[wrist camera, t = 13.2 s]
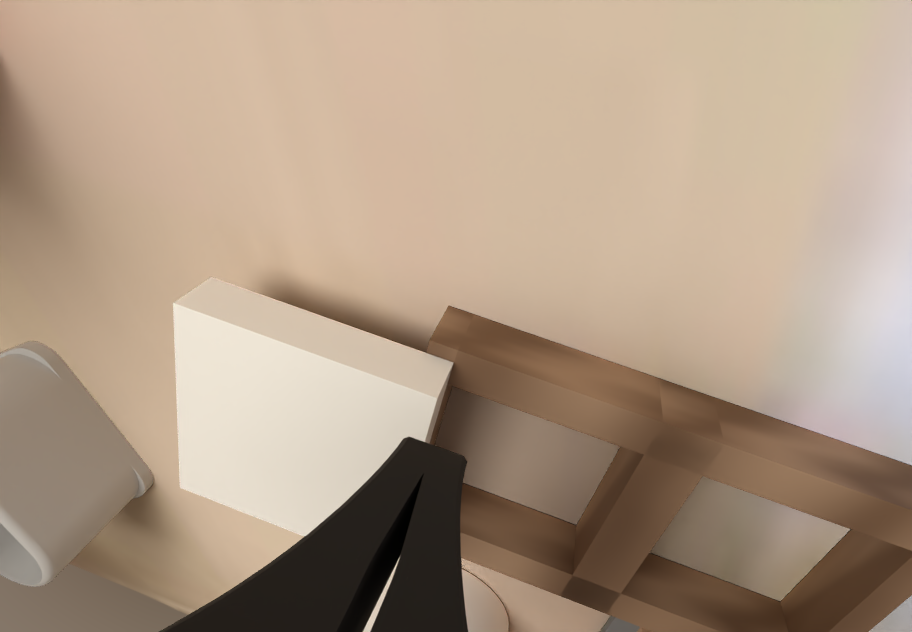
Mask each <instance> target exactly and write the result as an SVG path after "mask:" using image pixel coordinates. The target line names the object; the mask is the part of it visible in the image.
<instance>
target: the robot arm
mask: <svg viewBox="0 0 912 632" xmlns="http://www.w3.org/2000/svg"><path fill="white" fill-rule="evenodd" d="M466 464H467V461H466V459H465V458H464V456H462V455H459V454H457V453H454V452H451V451H448V450H445V449H443V448H440V447H437V446H434V445H432V444H429V443H426V442H423V441H420V440H418V439H415V438H412V437H406V438H403V440H402V441H401V442H400V444H399V445H398V447H397V448H396V449H395V450H394V452H393V453H392V454H391V455H390V456H389V458H388V459H387V460H386V461H385V462H384V463H383V464H382V466H381V467H380V468H379V469H378V470H377V471H376V472H375V473H374V474H373V475H372V476H371V477H370V478H369V479H368V480H367V481H366V482H365V483H364V484H363V485H362V486H361V487H360V488H359V489H358V490H357V491H356V492H355V493H354V494H353V495H352V496H351V497H350V498H349V499H348V500H347V501H346V502H345V503H343V504H342V505H341V506H340V507H339V508H338V509H337V510H336V511H334V512H333V513H332V514H331V515H330V516H329V517H327V518H326V519H325V520H324V521H323V522H322V523H320V524H319V525H318V526H317V527H316V528H315V529H313V530H312V531H311V532H310V533H309V534H307V535H306V536H305V537H304V538H302V539H301V540H300V541H299V542H297V543H296V544H295V545H293V546H292V547H291V548H290V549H288V550H287V551H286V552H284V553H283V554H281V555H280V556H279V557H277V558H276V559H275V560H273V561H272V562H271V563H269V564H268V565H266V566H265V567H263V568H262V569H261V570H259V571H258V572H256V573H255V574H253V575H252V576H250V577H249V578H247V579H246V580H244V581H243V582H241V583H240V584H238V585H237V586H235V587H234V588H232V589H231V590H229V591H228V592H226V593H224V594H223V595H221V596H220V597H218V598H216V599H215V600H213V601H211V602H210V603H208V604H206V605H205V606H203V607H201V608H199V609H198V610H196V611H194V612H193V613H191V614H189V615H187V616H186V617H184V618H182V619H180V620H179V621H177V622H175V623H174V624H172V625H171V626H168V627H167V628H165V629H163V630H161V631H159V632H363V630H364V628H365V626H366V624H367V622H368V620H369V618H370V616H371V614H372V612H373V610H374V608H375V606H376V604H377V602H378V600H379V598H380V596H381V594H382V592H383V590H384V588H385V586H386V584H387V582H388V580H389V578H390V575H391V573H392V571H393V569H394V567H395V565H396V563H397V561H398V559H399V561H398V564H397V567H396V570H395V573H394V576H393V578H392V581H391V583H390V585H389V588H388V590H387V593H386V595H385V597H384V600H383V602H382V605H381V607H380V610H379V612H378V614H377V617H376V619H375V622H374V624H373V626H372V629H371V631H370V632H468V626H467V619H466V611H465V602H464V592H463V580H462V566H461V536H460V513H461V495H462V485H463V478H464V472H465V467H466ZM399 557H400V558H399Z"/></svg>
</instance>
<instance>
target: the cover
mask: <svg viewBox="0 0 912 632" xmlns="http://www.w3.org/2000/svg"><path fill="white" fill-rule="evenodd" d="M173 313H174V340H175V368H176V395H177V422H178V449H179V476H180V488H182V489H185V490H187V491H190V492H192V493H195V494H197V495H200V496H202V497H205V498H207V499H210V500H213V501H215V502H218V503H220V504H223V505H225V506H228V507H230V508H233V509H235V510H238V511H240V512H243V513H246V514H248V515H251V516H253V517H256V518H258V519H261V520H263V521H266V522H268V523H271V524H274V525H276V526H279V527H281V528H284V529H286V530H289V531H291V532H294V533H296V534H299V535H302V536H304V537H305V536H306V535H307V534H309V533H310V532H311V531H312V530H313V529H315V528H316V527H317V526H318V525H319V524H320V523H322V522H323V521H324V520H325V519H326V518H327V517H329V516H330V515H331V514H332V513H333V512H334V511H336V510H337V509H338V508H339V507H340V506H341V505H342V504H343V503H345V502H346V501H347V500H348V499H349V498H350V497H351V496H352V495H353V494H354V493H355V492H356V491H357V490H358V489H359V488H360V487H361V486H362V485H363V484H364V483H365V482H366V481H367V480H368V479H369V478H370V477H371V476H372V475H373V474H374V473H375V472H376V471H377V470H378V469H379V468H380V467H381V466H382V464H383V463H384V462H385V461H386V460H387V459H388V458H389V456H390V455H391V454H392V453H393V452H394V450H395V449H396V448H397V447H398V445H399V444H400V442H401V441H402V440H403V438H406V437H412V438H415V439H418V440H420V441H423V442H426V443H430V440H431V436H432V433H433V430H434V426H435V423H436V420H437V416H438V413H439V410H440V406H441V403H442V400H443V396H444V393H445V390H446V386H447V383H448V380H449V376H450V373H451V370H452V366H453V362H450V361H448V360H445V359H442V358H439V357H436V356H433V355H431V354H428V353H425V352H422V351H419V350H417V349H414V348H411V347H408V346H405V345H402V344H400V343H397V342H394V341H391V340H388V339H385V338H383V337H380V336H377V335H374V334H371V333H369V332H366V331H363V330H360V329H357V328H354V327H352V326H349V325H346V324H343V323H340V322H338V321H335V320H332V319H329V318H326V317H323V316H321V315H318V314H315V313H312V312H309V311H307V310H304V309H301V308H298V307H295V306H292V305H290V304H287V303H284V302H281V301H278V300H276V299H273V298H270V297H267V296H264V295H261V294H259V293H256V292H253V291H250V290H247V289H245V288H242V287H239V286H236V285H233V284H230V283H228V282H225V281H222V280H219V279H216V278H214V277H210V278H209V279H207V280H206V281H204V282H203V283H201V284H200V285H198V286H197V287H196V288H194V289H193V290H191V291H190V292H188V293H187V294H185V295H184V296H182V297H181V298H179V299H178V300H176V301H175V302H174V303H173Z"/></svg>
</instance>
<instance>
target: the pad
mask: <svg viewBox="0 0 912 632" xmlns="http://www.w3.org/2000/svg"><path fill="white" fill-rule="evenodd" d="M639 628H640V627H639V626H637V625H634V624H631V623H629V622H626V621H624V620H621V619H618V618H616V617H613V616H611V617H610V618H609V620H608V621H607V622H606V624H605V625H604V627H603V628H602V629H601V631H600V632H637V631H638V629H639Z"/></svg>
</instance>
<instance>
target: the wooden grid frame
mask: <svg viewBox="0 0 912 632" xmlns="http://www.w3.org/2000/svg"><path fill="white" fill-rule="evenodd" d="M426 353H428V354H431V355H433V356H436V357H439V358H442V359H445V360H448V361H450V362H453V366H452V370H451V373H450V376H449V380H448V383H447V386H446V390H445V393H444V396H443V400H442V403H441V406H440V410H439V413H438V416H437V420H436V423H435V426H434V430H433V433H432V436H431V440H430V443H429V444H432V445H434V444H435V441H436V437H437V434H438V431H439V428H440V424H441V421H442V418H443V415H444V411H445V408H446V405H447V402H448V398H449V395H450V392H451V388H452V386H454V387H456V388H459V389H462V390H465V391H467V392H470V393H473V394H476V395H479V396H481V397H484V398H487V399H490V400H493V401H495V402H498V403H501V404H504V405H506V406H509V407H512V408H515V409H518V410H520V411H523V412H526V413H529V414H532V415H534V416H537V417H540V418H543V419H546V420H548V421H551V422H554V423H557V424H559V425H562V426H565V427H568V428H571V429H573V430H576V431H579V432H582V433H585V434H587V435H590V436H593V437H596V438H598V439H601V440H604V441H607V442H610V443H612V444H615V445H618V446H621V447H620V449H619V450H618V452H617V454H616V456H615V458H614V459H613V461H612V463H611V465H610V467H609V468H608V470H607V472H606V474H605V475H604V477H603V479H602V481H601V483H600V484H599V486H598V488H597V490H596V492H595V493H594V495H593V497H592V499H591V501H590V502H589V504H588V506H587V508H586V509H585V511H584V513H583V515H582V517H581V518H580V520H579V522H578V524H577V526H576V525H573V524H570V523H568V522H565V521H562V520H560V519H557V518H554V517H552V516H549V515H546V514H544V513H541V512H538V511H536V510H533V509H530V508H528V507H525V506H522V505H520V504H517V503H514V502H512V501H509V500H506V499H504V498H501V497H498V496H496V495H493V494H490V493H488V492H485V491H482V490H480V489H477V488H474V487H472V486H469V485H466V484H464V483H463V485H462V495H461V513H460V536H461V558H463V559H466V560H468V561H471V562H474V563H476V564H479V565H481V566H484V567H487V568H489V569H492V570H494V571H497V572H499V573H502V574H505V575H507V576H510V577H512V578H515V579H518V580H520V581H523V582H525V583H528V584H531V585H533V586H536V587H538V588H541V589H543V590H546V591H549V592H551V593H554V594H556V595H559V596H562V597H564V598H567V599H569V600H572V601H575V602H577V603H580V604H582V605H585V606H587V607H590V608H593V609H595V610H598V611H600V612H603V613H606V614H608V615H611V616H613V617H616V618H618V619H621V620H624V621H626V622H629V623H631V624H634V625H637V626H639V627H642V628H644V629H647V630H650V631H652V632H868V631H870V630H871V629H872V628H873V627H874V626H875V625H877V624H878V623H879V622H880V621H881V620H883V619H884V618H885V617H886V616H887V615H889V614H890V613H891V612H892V611H893V610H894V609H896V608H897V607H898V606H899V605H900V604H902V603H903V602H904V601H905V600H906V599H908V598H909V597H910V596H911V595H912V466H911V465H908V464H905V463H902V462H899V461H896V460H893V459H891V458H888V457H885V456H882V455H879V454H876V453H873V452H870V451H867V450H865V449H862V448H859V447H856V446H853V445H850V444H847V443H844V442H841V441H839V440H836V439H833V438H830V437H827V436H824V435H821V434H818V433H815V432H812V431H810V430H807V429H804V428H801V427H798V426H795V425H792V424H789V423H786V422H784V421H781V420H778V419H775V418H772V417H769V416H766V415H763V414H760V413H757V412H755V411H752V410H749V409H746V408H743V407H740V406H737V405H734V404H731V403H729V402H726V401H723V400H720V399H717V398H714V397H711V396H708V395H705V394H703V393H700V392H697V391H694V390H691V389H688V388H685V387H682V386H679V385H676V384H674V383H671V382H668V381H665V380H662V379H659V378H656V377H653V376H650V375H648V374H645V373H642V372H639V371H636V370H633V369H630V368H627V367H624V366H621V365H619V364H616V363H613V362H610V361H607V360H604V359H601V358H598V357H595V356H593V355H590V354H587V353H584V352H581V351H578V350H575V349H572V348H569V347H567V346H564V345H561V344H558V343H555V342H552V341H549V340H546V339H543V338H540V337H538V336H535V335H532V334H529V333H526V332H523V331H520V330H517V329H514V328H512V327H509V326H506V325H503V324H500V323H497V322H494V321H491V320H488V319H486V318H483V317H480V316H477V315H474V314H471V313H468V312H465V311H462V310H459V309H457V308H454V307H451V306H448V308H447V310H446V312H445V313H444V315H443V317H442V319H441V321H440V322H439V324H438V326H437V328H436V330H435V331H434V333H433V335H432V337H431V339H430V341H429V344H428V348H427V352H426ZM702 476H704V477H707V478H710V479H713V480H716V481H718V482H721V483H724V484H727V485H730V486H732V487H735V488H738V489H741V490H743V491H746V492H749V493H752V494H755V495H757V496H760V497H763V498H766V499H769V500H771V501H774V502H777V503H780V504H782V505H785V506H788V507H791V508H794V509H796V510H799V511H802V512H805V513H808V514H810V515H813V516H816V517H819V518H822V519H824V520H827V521H830V522H833V523H835V524H838V525H841V526H844V527H847V528H849V529H851V530H850V531H849V533H848V534H847V535H846V536H845V537H844V538H843V539H842V540H841V541H840V542H839V543H838V544H837V545H836V546H835V547H834V548H833V549H832V550H831V551H830V552H829V553H828V554H827V555H826V556H825V557H824V558H823V559H822V560H821V561H820V562H819V563H818V564H817V565H816V566H815V567H814V568H813V569H812V570H811V571H810V572H809V573H808V574H807V575H806V576H805V577H804V579H803V580H802V581H801V582H800V583H799V584H798V585H797V586H796V587H795V588H794V589H793V590H792V591H791V592H790V593H789V594H788V595H787V596H786V597H785V598H784V599H783V600H782V601H781V602H779V601H776V600H774V599H771V598H768V597H766V596H763V595H760V594H758V593H755V592H752V591H750V590H747V589H744V588H742V587H739V586H736V585H734V584H731V583H728V582H725V581H723V580H720V579H717V578H715V577H712V576H709V575H707V574H704V573H701V572H699V571H696V570H693V569H691V568H688V567H685V566H683V565H680V564H677V563H675V562H672V561H669V560H667V559H664V558H661V557H659V556H656V555H653V554H651V553H649V552H650V551H651V549H652V548H653V547H654V545H655V544H656V542H657V541H658V539H659V538H660V537H661V535H662V534H663V532H664V531H665V529H666V528H667V527H668V525H669V524H670V522H671V521H672V519H673V518H674V516H675V515H676V514H677V512H678V511H679V509H680V508H681V506H682V505H683V504H684V502H685V501H686V499H687V498H688V496H689V495H690V493H691V492H692V491H693V489H694V488H695V486H696V485H697V483H698V482H699V481H700V479H701V478H702Z"/></svg>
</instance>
